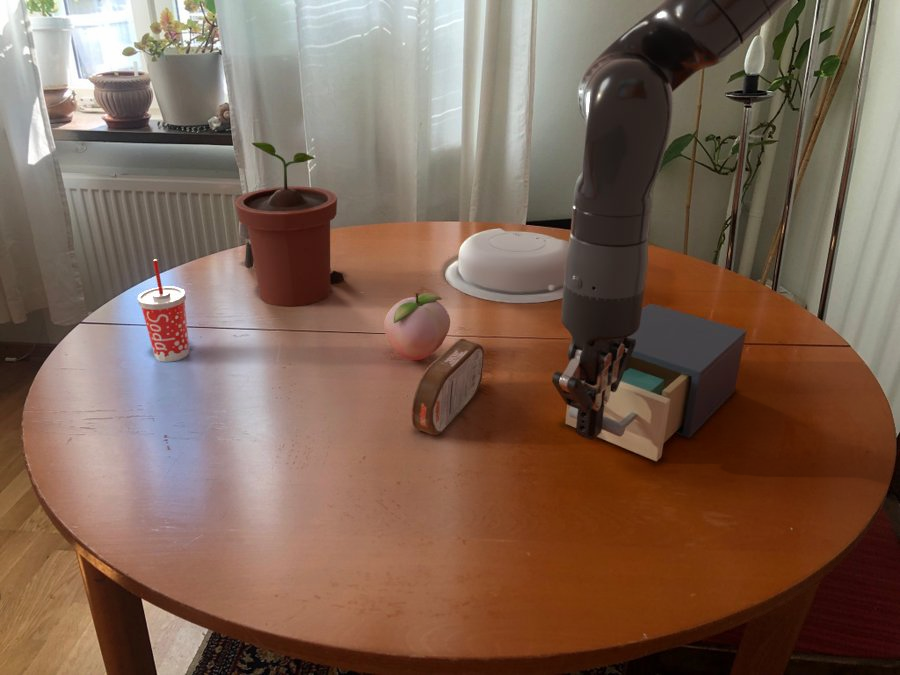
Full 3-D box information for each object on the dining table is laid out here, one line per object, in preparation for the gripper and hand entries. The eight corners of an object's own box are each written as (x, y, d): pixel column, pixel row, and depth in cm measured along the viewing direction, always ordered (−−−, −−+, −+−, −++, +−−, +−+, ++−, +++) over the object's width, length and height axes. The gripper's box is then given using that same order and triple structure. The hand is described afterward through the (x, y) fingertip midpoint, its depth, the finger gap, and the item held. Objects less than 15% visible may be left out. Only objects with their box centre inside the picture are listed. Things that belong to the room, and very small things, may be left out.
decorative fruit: (409, 339, 108) (408, 275, 104) (458, 352, 104) (459, 287, 100) (372, 366, 101) (368, 298, 96) (423, 381, 97) (422, 311, 93)
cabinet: (687, 443, 85) (700, 372, 81) (590, 405, 92) (597, 338, 88) (733, 396, 94) (746, 330, 90) (641, 365, 101) (650, 303, 97)
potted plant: (231, 315, 116) (208, 154, 104) (245, 265, 135) (227, 125, 124) (345, 309, 118) (335, 150, 107) (343, 261, 137) (335, 123, 126)
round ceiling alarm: (415, 277, 130) (415, 244, 127) (501, 242, 147) (502, 212, 144) (533, 316, 115) (535, 279, 113) (613, 272, 133) (617, 239, 130)
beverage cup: (139, 358, 102) (119, 263, 96) (171, 341, 107) (155, 249, 101) (172, 368, 100) (154, 271, 94) (204, 349, 105) (189, 256, 99)
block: (659, 412, 87) (664, 379, 85) (642, 428, 84) (647, 394, 82) (625, 399, 89) (629, 367, 87) (607, 414, 86) (611, 381, 84)
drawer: (638, 480, 77) (647, 420, 74) (545, 439, 84) (549, 382, 80) (704, 414, 88) (714, 359, 85) (617, 383, 95) (623, 331, 92)
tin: (465, 385, 96) (466, 326, 93) (487, 390, 95) (489, 331, 91) (409, 444, 84) (407, 379, 80) (434, 451, 83) (433, 386, 79)
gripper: (604, 312, 63) (587, 478, 71) (672, 270, 72) (650, 420, 80) (531, 290, 67) (522, 449, 75) (603, 253, 77) (589, 397, 84)
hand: (588, 434), depth 78 cm, fingers closed
